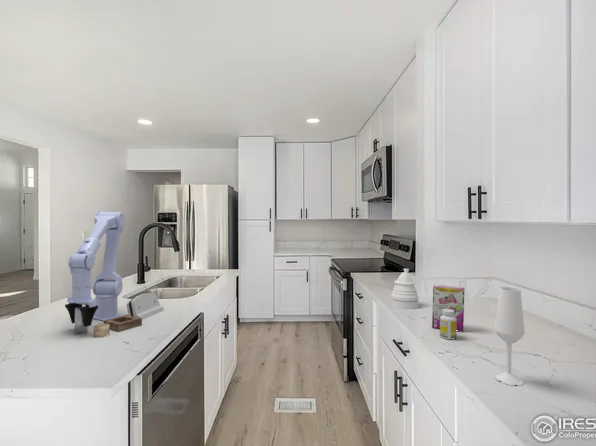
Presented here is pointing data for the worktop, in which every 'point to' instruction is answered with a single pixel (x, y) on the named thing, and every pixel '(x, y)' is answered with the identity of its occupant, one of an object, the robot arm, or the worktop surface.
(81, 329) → the tall pin
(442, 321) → the supplement bottle
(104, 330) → the oak stub
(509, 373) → the champagne flute
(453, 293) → the candy bar box
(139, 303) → the hinge
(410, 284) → the honey pot
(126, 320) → the socket block
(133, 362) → the worktop surface
